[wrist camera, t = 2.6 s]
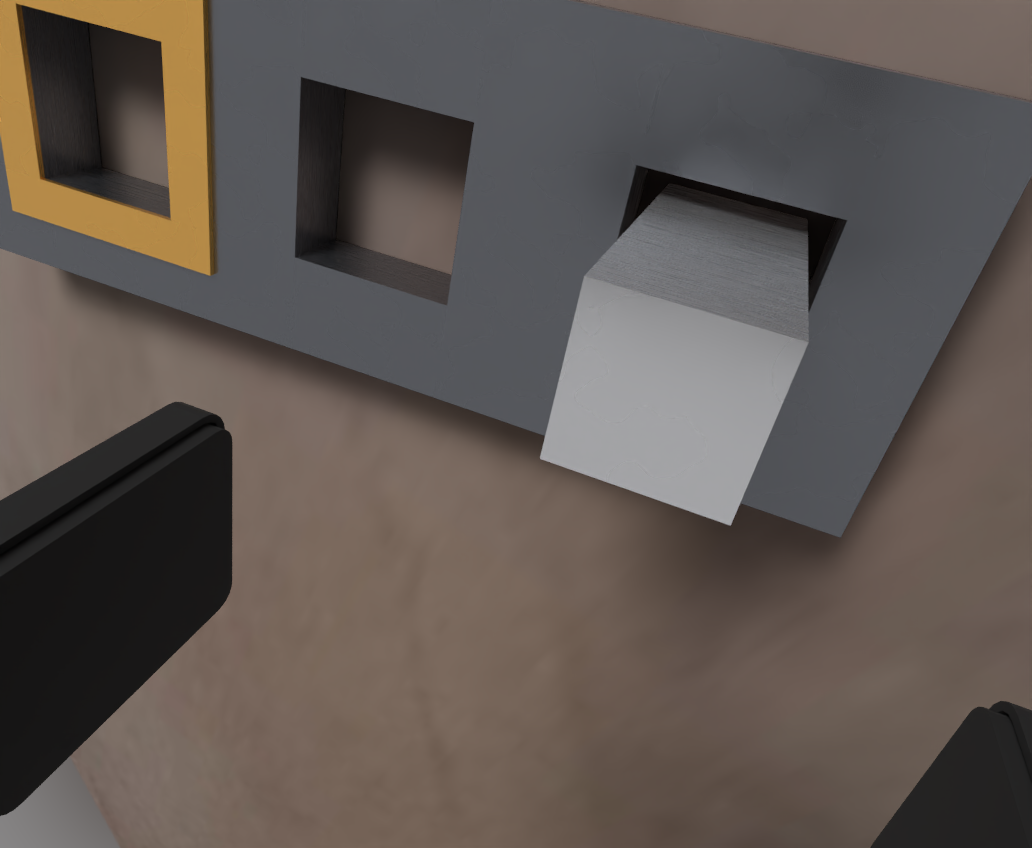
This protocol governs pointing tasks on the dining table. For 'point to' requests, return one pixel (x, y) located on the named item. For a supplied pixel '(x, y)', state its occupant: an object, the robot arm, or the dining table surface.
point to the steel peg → (684, 351)
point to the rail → (515, 193)
